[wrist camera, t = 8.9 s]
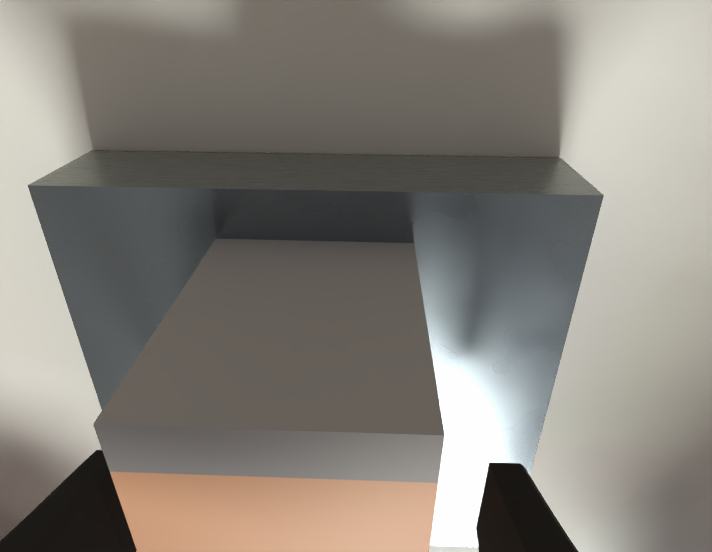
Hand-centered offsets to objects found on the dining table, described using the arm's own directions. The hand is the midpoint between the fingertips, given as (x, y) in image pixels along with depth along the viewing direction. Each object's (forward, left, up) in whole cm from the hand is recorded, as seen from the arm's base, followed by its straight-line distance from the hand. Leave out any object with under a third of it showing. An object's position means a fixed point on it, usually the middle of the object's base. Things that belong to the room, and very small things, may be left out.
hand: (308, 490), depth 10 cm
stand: (0, 0, -5) cm, 5 cm away
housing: (0, 0, -2) cm, 2 cm away
